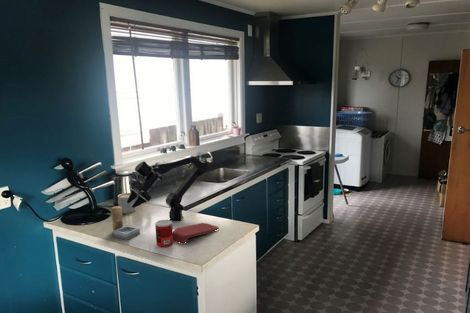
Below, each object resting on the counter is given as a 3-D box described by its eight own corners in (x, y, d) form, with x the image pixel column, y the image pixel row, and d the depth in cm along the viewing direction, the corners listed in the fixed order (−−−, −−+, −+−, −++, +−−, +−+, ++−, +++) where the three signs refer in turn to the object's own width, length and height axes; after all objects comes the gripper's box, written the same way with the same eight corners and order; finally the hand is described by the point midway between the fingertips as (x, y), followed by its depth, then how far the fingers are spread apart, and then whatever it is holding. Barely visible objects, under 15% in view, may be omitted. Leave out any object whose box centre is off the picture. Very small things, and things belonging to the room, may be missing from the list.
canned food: (175, 242, 179) (174, 220, 177) (167, 248, 172) (166, 226, 170) (161, 240, 182) (160, 218, 180) (153, 246, 175) (152, 224, 173)
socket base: (127, 230, 195) (126, 225, 194) (139, 233, 190) (139, 228, 190) (114, 236, 187) (113, 230, 186) (126, 239, 182) (126, 234, 182)
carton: (203, 231, 203) (168, 239, 183) (203, 222, 203) (169, 229, 183) (219, 236, 195) (186, 245, 176) (220, 227, 195) (186, 235, 175)
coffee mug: (126, 214, 219) (125, 198, 218) (115, 211, 225) (114, 195, 223) (143, 208, 230) (142, 193, 228) (132, 205, 236) (131, 190, 234)
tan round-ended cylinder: (124, 229, 196) (123, 206, 193) (120, 233, 191) (118, 209, 188) (116, 229, 196) (114, 206, 194) (111, 232, 192) (109, 209, 189)
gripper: (132, 169, 202) (113, 192, 199) (143, 176, 187) (123, 201, 183) (147, 181, 208) (129, 203, 204) (159, 189, 192) (139, 213, 189)
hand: (129, 205), depth 195 cm, fingers open, 9 cm apart
